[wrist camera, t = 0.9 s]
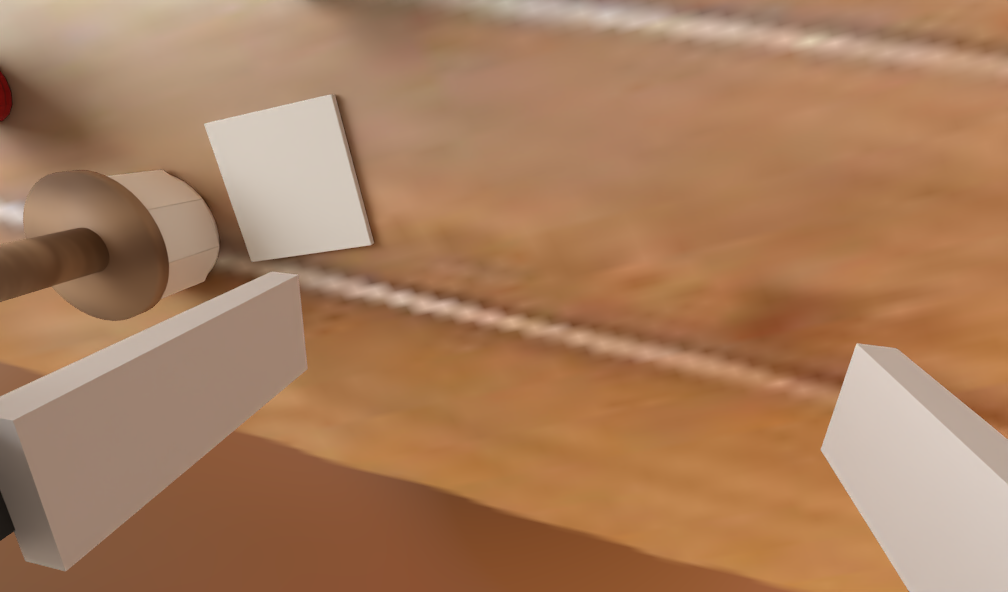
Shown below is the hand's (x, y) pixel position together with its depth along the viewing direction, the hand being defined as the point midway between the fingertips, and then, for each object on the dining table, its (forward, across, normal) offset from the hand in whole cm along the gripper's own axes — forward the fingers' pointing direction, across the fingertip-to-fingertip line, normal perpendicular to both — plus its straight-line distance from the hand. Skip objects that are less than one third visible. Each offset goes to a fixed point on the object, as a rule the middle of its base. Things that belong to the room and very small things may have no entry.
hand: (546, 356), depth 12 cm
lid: (+21, -38, -7) cm, 44 cm away
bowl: (+28, -38, -7) cm, 48 cm away
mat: (+28, -25, -1) cm, 37 cm away
